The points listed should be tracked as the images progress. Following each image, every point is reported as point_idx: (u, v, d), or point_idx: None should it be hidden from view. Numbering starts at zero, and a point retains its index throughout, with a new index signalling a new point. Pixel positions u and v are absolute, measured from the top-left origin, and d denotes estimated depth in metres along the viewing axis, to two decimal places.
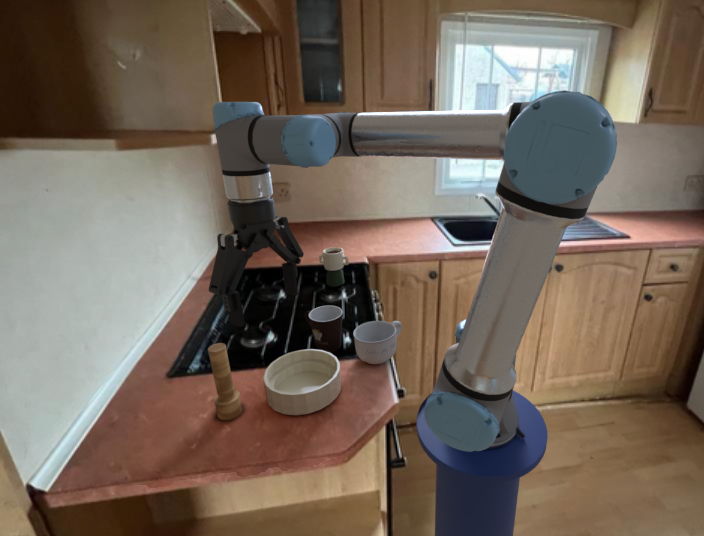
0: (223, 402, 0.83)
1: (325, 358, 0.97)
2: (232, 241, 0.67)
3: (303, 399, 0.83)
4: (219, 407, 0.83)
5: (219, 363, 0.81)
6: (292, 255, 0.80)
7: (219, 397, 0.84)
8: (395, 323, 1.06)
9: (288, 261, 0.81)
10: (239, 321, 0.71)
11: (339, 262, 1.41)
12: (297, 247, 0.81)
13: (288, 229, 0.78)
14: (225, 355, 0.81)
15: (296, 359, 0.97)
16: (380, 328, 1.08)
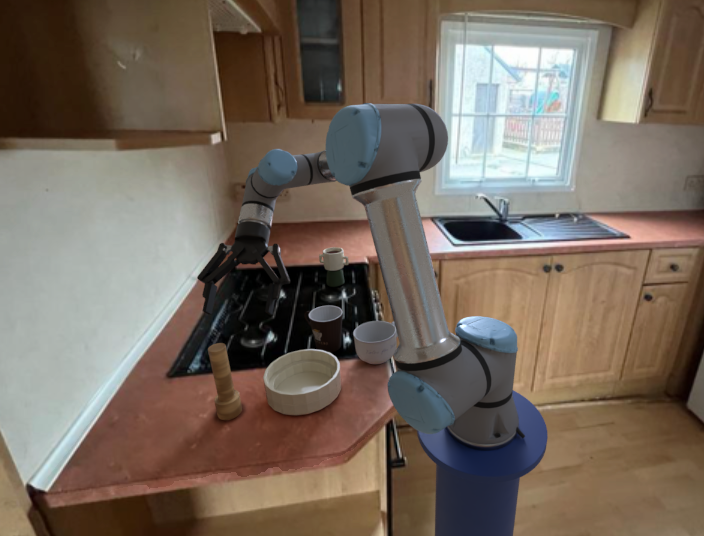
0: (223, 402, 0.83)
1: (325, 358, 0.97)
2: (222, 246, 0.95)
3: (303, 399, 0.83)
4: (219, 407, 0.83)
5: (219, 363, 0.81)
6: (273, 275, 0.92)
7: (219, 397, 0.84)
8: None
9: None
10: (204, 306, 0.89)
11: (339, 262, 1.41)
12: (281, 270, 0.93)
13: (276, 253, 0.94)
14: (225, 355, 0.81)
15: (296, 359, 0.97)
16: (380, 328, 1.08)
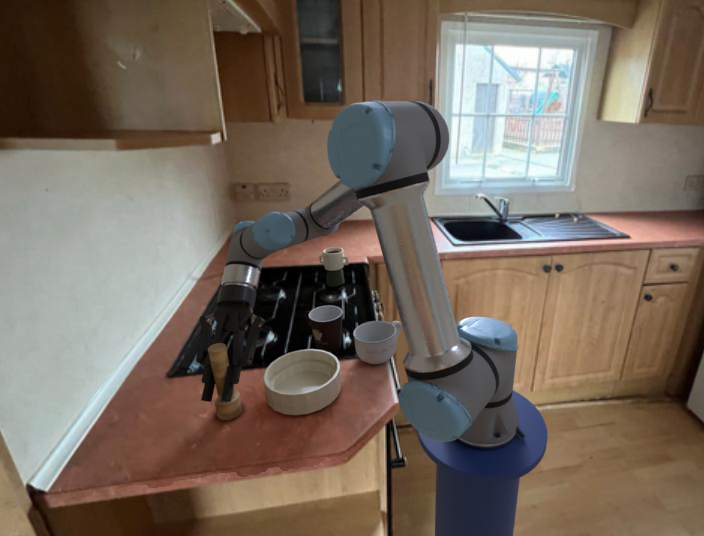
0: (223, 402, 0.83)
1: (325, 358, 0.97)
2: (204, 319, 0.86)
3: (303, 399, 0.83)
4: (219, 406, 0.83)
5: (219, 363, 0.81)
6: (236, 355, 0.83)
7: (219, 397, 0.84)
8: (395, 323, 1.06)
9: None
10: None
11: (339, 262, 1.41)
12: (247, 350, 0.84)
13: (254, 328, 0.85)
14: (225, 355, 0.81)
15: (296, 359, 0.97)
16: (380, 328, 1.08)
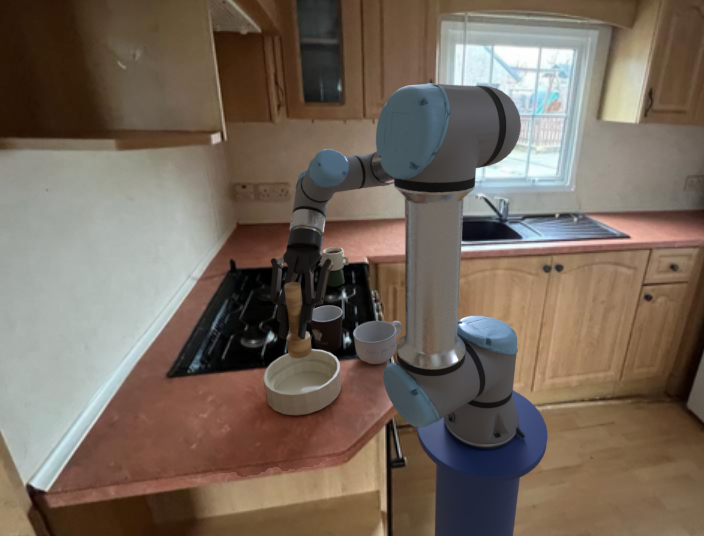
0: (296, 341, 0.86)
1: (325, 358, 0.97)
2: (275, 261, 0.89)
3: (303, 399, 0.83)
4: (292, 344, 0.85)
5: (295, 300, 0.83)
6: (309, 294, 0.85)
7: (292, 335, 0.86)
8: (395, 323, 1.06)
9: None
10: (279, 330, 0.82)
11: (339, 262, 1.41)
12: (319, 289, 0.86)
13: (324, 269, 0.88)
14: (300, 292, 0.83)
15: (296, 359, 0.97)
16: (380, 328, 1.08)
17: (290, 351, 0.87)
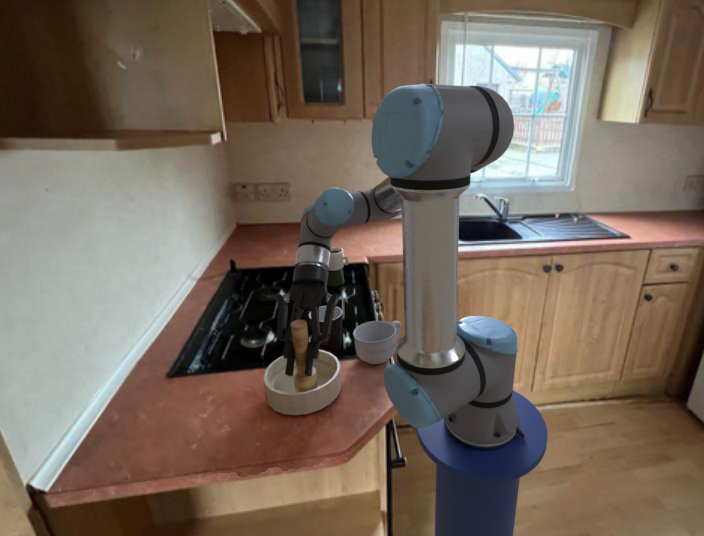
0: (303, 377, 0.86)
1: (325, 358, 0.97)
2: (281, 298, 0.89)
3: (303, 399, 0.83)
4: (299, 381, 0.86)
5: (301, 338, 0.83)
6: (315, 331, 0.86)
7: (299, 372, 0.87)
8: (395, 323, 1.06)
9: None
10: (286, 368, 0.83)
11: (339, 262, 1.41)
12: (325, 326, 0.87)
13: (330, 305, 0.88)
14: (306, 330, 0.84)
15: None
16: (380, 328, 1.08)
17: (297, 387, 0.87)
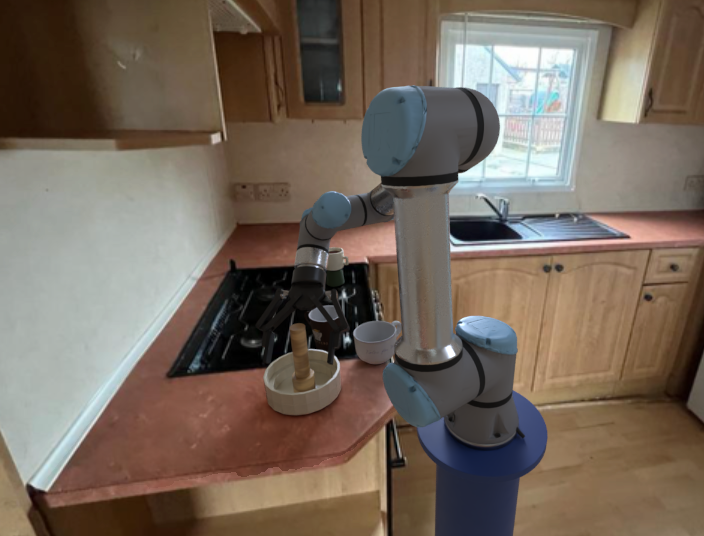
0: (301, 379, 0.89)
1: (325, 358, 0.97)
2: (279, 292, 0.92)
3: (303, 399, 0.83)
4: (297, 383, 0.89)
5: (300, 341, 0.86)
6: (333, 323, 0.89)
7: (297, 374, 0.89)
8: (395, 323, 1.06)
9: None
10: None
11: (339, 262, 1.41)
12: (341, 317, 0.90)
13: (335, 299, 0.92)
14: (304, 334, 0.87)
15: None
16: (380, 328, 1.08)
17: (295, 389, 0.90)
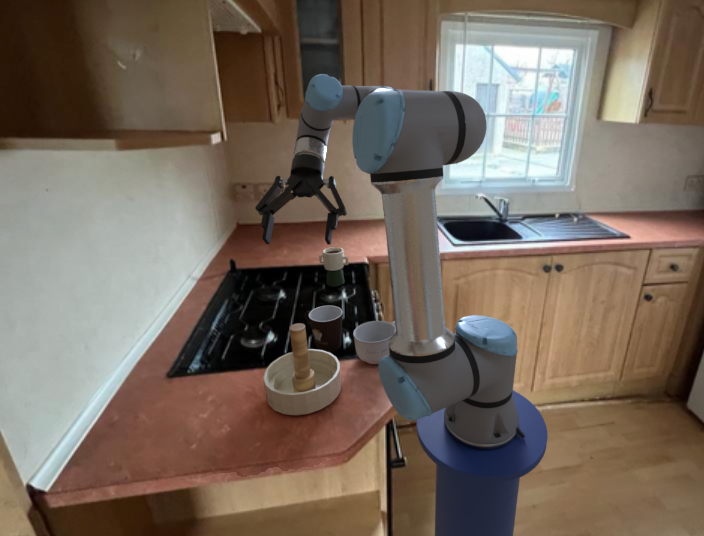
0: (301, 379, 0.89)
1: (325, 358, 0.97)
2: (278, 179, 0.95)
3: (303, 399, 0.83)
4: (297, 383, 0.89)
5: (300, 341, 0.86)
6: (331, 205, 0.92)
7: (297, 374, 0.89)
8: None
9: None
10: (263, 234, 0.89)
11: (339, 262, 1.41)
12: (339, 201, 0.92)
13: (332, 185, 0.94)
14: (304, 334, 0.87)
15: None
16: (380, 328, 1.08)
17: (295, 389, 0.90)
